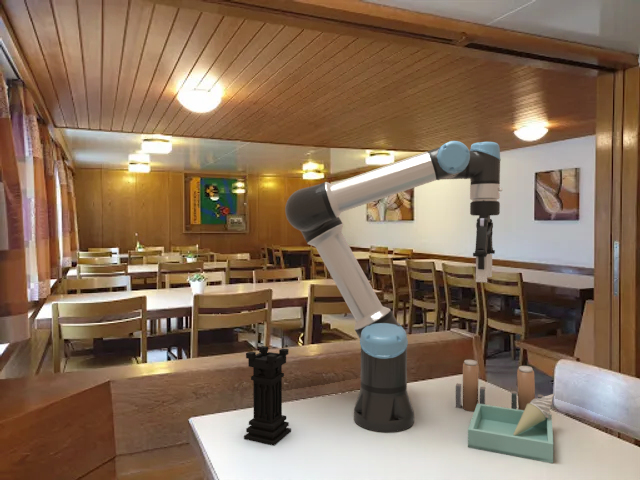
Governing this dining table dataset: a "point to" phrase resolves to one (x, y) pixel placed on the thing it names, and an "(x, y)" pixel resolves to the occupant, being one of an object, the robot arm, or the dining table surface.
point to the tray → (509, 434)
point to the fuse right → (525, 386)
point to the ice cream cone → (534, 413)
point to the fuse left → (470, 385)
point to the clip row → (482, 397)
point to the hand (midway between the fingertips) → (484, 279)
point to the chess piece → (267, 397)
